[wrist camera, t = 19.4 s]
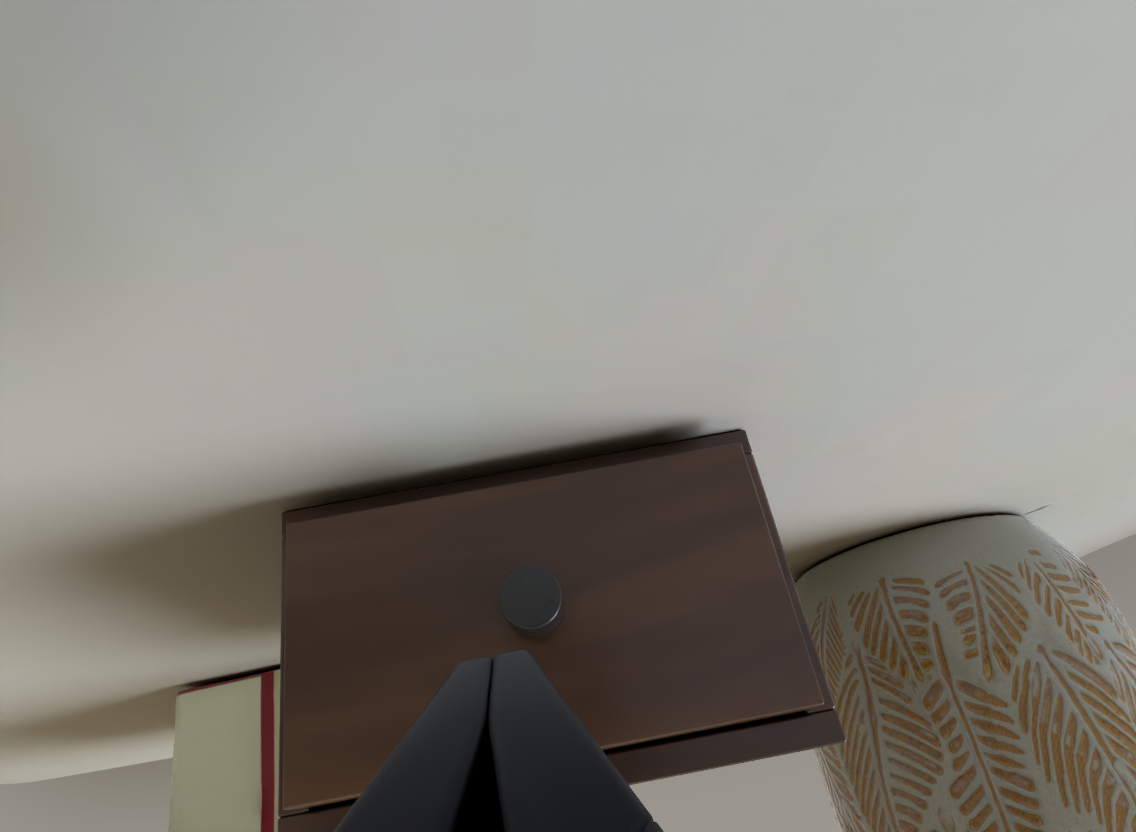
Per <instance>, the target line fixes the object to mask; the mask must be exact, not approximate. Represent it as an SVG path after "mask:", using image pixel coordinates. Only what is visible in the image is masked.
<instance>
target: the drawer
mask: <svg viewBox="0 0 1136 832" xmlns="http://www.w3.org/2000/svg"><path fill="white" fill-rule="evenodd" d="M522 649H525V650H528V651H529V652H530V653H531V655H532V656H533V657H534V659H535V660H536V661H537V663H538V664H539V665H540V667H541V668H542V669H543V671H544V672H545V673H546V675H547V676H548V677H549V679H550V680H551V681H552V683H553V684H554V685H555V687H556V688H557V690H558V691H559V692H560V694H561V695H562V696H563V698H564V699H565V700H566V702H567V703H568V704H569V706H570V707H571V708H572V710H573V711H574V712H575V714H576V715H577V716H578V718H579V719H580V721H581V722H582V723H583V725H584V726H585V727H586V729H587V730H588V731H589V733H590V734H591V735H592V737H593V738H594V739H595V741H596V742H597V743H598V745H599V746H600V747H601V749H602V750H603V751H604V753H605V754H609V753H614V752H619V751H624V750H629V749H634V748H640V747H645V746H650V745H655V744H660V743H665V742H670V741H675V740H680V739H685V738H691V737H696V736H701V735H706V734H711V733H716V732H721V731H726V730H731V729H734V728H736V727H738V726H740V725H743V724H745V723H747V722H749V721H754V720H759V719H764V718H769V717H775V716H780V715H785V714H790V713H795V712H800V711H805V710H810V709H813V708H816V707H819V706H821V705H823V704H824V700H823V697H822V694H821V691H820V688H819V684H818V681H817V678H816V675H815V672H814V669H813V666H812V663H811V660H810V656H809V653H808V650H807V647H806V644H805V641H804V638H803V635H802V631H801V628H800V625H799V622H798V619H797V616H796V613H795V610H794V607H793V603H792V600H791V597H790V594H789V591H788V588H787V585H786V582H785V579H784V575H783V572H782V569H781V566H780V563H779V560H778V557H777V554H776V550H775V547H774V544H773V541H772V538H771V535H770V532H769V529H768V526H767V522H766V519H765V516H764V513H763V510H762V507H761V504H760V501H759V498H758V494H757V491H756V488H755V485H754V482H753V479H752V476H751V473H750V469H749V466H748V463H747V460H746V457H745V454H744V451H743V448H742V445H741V443H734V444H729V445H723V446H718V447H712V448H707V449H701V450H696V451H690V452H684V453H679V454H673V455H668V456H662V457H657V458H651V459H646V460H640V461H634V462H629V463H623V464H618V465H612V466H607V467H601V468H596V469H590V470H584V471H579V472H573V473H568V474H562V475H557V476H551V477H546V478H540V479H535V480H529V481H523V482H518V483H512V484H507V485H501V486H496V487H490V488H485V489H479V490H473V491H468V492H462V493H457V494H451V495H446V496H440V497H435V498H429V499H423V500H418V501H412V502H407V503H401V504H396V505H390V506H385V507H379V508H373V509H368V510H362V511H357V512H351V513H346V514H340V515H335V516H329V517H324V518H318V519H312V520H307V521H301V522H296V523H290V524H287V525H286V568H285V645H284V723H283V800H282V808H283V810H294V809H304V808H309V807H314V806H320V805H325V804H330V803H335V802H340V801H345V800H350V799H355V798H359V796H360V795H361V794H362V792H363V791H364V789H365V788H366V787H367V785H368V784H369V783H370V781H371V780H372V779H373V777H374V776H375V775H376V773H377V772H378V771H379V769H380V768H381V766H382V765H383V764H384V762H385V761H386V760H387V758H388V757H389V756H390V754H391V753H392V752H393V750H394V749H395V747H396V746H397V745H398V743H399V742H400V741H401V739H402V738H403V737H404V735H405V734H406V733H407V731H408V730H409V728H410V727H411V726H412V724H413V723H414V722H415V720H416V719H417V718H418V716H419V715H420V714H421V712H422V711H423V709H424V708H425V707H426V705H427V704H428V703H429V701H430V700H431V699H432V697H433V696H434V695H435V693H436V692H437V691H438V689H439V688H440V686H441V685H442V684H443V682H444V681H445V680H446V678H447V677H448V676H449V674H450V673H451V672H452V670H453V669H454V667H455V666H456V665H457V664H458V663H459V662H461V661H464V660H470V659H475V658H480V657H486V656H489V657H492V659H493V660H494V658H495V656H496V655H498V654H501V653H506V652H512V651H517V650H522Z"/></svg>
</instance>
